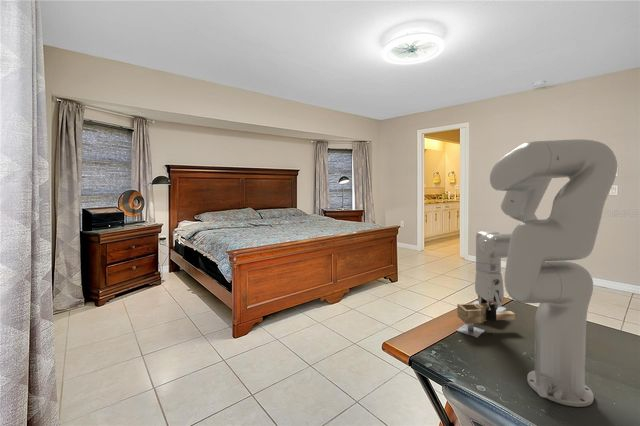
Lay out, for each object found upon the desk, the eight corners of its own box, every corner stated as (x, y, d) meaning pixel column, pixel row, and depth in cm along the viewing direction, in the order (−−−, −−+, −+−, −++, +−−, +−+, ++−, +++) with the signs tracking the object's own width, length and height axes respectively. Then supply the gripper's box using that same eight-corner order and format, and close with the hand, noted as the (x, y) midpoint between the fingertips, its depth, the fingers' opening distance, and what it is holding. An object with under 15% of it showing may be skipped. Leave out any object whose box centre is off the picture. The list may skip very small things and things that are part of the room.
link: (465, 323, 100) (465, 309, 100) (457, 316, 106) (457, 302, 106) (518, 321, 100) (518, 307, 100) (507, 314, 106) (507, 300, 106)
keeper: (497, 325, 106) (497, 315, 106) (466, 316, 115) (466, 306, 115) (506, 318, 112) (506, 308, 112) (476, 310, 121) (475, 300, 120)
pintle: (476, 337, 99) (476, 323, 98) (455, 330, 104) (455, 316, 104) (485, 330, 103) (485, 316, 103) (464, 324, 108) (464, 311, 108)
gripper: (514, 273, 94) (513, 328, 95) (485, 260, 110) (485, 308, 112) (491, 273, 94) (490, 329, 95) (465, 261, 110) (465, 309, 112)
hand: (487, 317), depth 103 cm, fingers closed on link, 3 cm apart
